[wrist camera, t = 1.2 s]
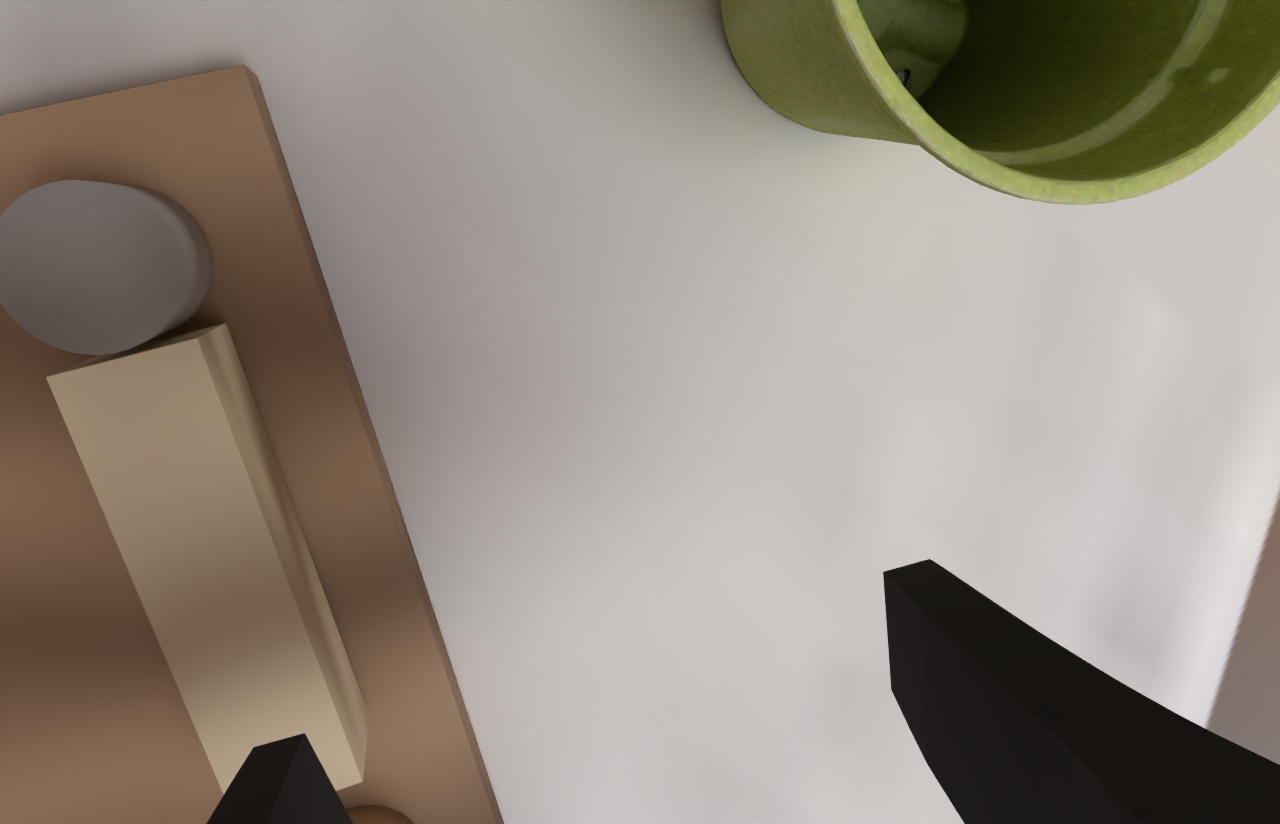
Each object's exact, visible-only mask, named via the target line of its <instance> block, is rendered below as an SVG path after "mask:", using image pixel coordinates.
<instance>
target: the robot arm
mask: <svg viewBox="0 0 1280 824" xmlns="http://www.w3.org/2000/svg"><path fill="white" fill-rule="evenodd" d="M883 575H884V590H885V604H886V618H887V633H888V647H889V661H890V676H891V690H892V692H893V694H894V696H895V698H896V700H897V702H898V705H899V707H900V709H901V711H902V713H903V715H904V717H905V719H906V721H907V724H908V726H909V728H910V730H911V732H912V734H913V736H914V738H915V740H916V742H917V744H918V746H919V748H920V750H921V752H922V754H923V756H924V758H925V760H926V762H927V764H928V766H929V767H930V769H931V771H932V772H933V774H934V775H935V777H936V779H937V780H938V782H939V784H940V785H941V787H942V788H943V790H944V792H945V793H946V795H947V796H948V798H949V799H950V801H951V803H952V804H953V806H954V807H955V809H956V811H957V812H958V814H959V815H960V817H961V818H962V820H963V822H964V823H965V824H1280V765H1279V764H1276V763H1274V762H1272V761H1270V760H1268V759H1266V758H1264V757H1262V756H1260V755H1258V754H1256V753H1254V752H1252V751H1249V750H1247V749H1245V748H1243V747H1241V746H1239V745H1237V744H1235V743H1233V742H1231V741H1229V740H1227V739H1225V738H1223V737H1221V736H1218V735H1216V734H1214V733H1212V732H1210V731H1208V730H1207V729H1205V728H1203V727H1201V726H1199V725H1197V724H1195V723H1193V722H1191V721H1189V720H1187V719H1185V718H1183V717H1182V716H1180V715H1178V714H1176V713H1174V712H1172V711H1171V710H1169V709H1167V708H1165V707H1163V706H1162V705H1160V704H1158V703H1156V702H1155V701H1153V700H1151V699H1149V698H1147V697H1146V696H1144V695H1142V694H1140V693H1139V692H1137V691H1135V690H1133V689H1131V688H1130V687H1128V686H1126V685H1125V684H1123V683H1121V682H1119V681H1118V680H1116V679H1114V678H1113V677H1111V676H1109V675H1108V674H1106V673H1104V672H1103V671H1101V670H1099V669H1098V668H1096V667H1094V666H1093V665H1091V664H1090V663H1088V662H1086V661H1085V660H1083V659H1081V658H1080V657H1078V656H1077V655H1075V654H1073V653H1072V652H1070V651H1069V650H1067V649H1065V648H1064V647H1062V646H1061V645H1059V644H1057V643H1056V642H1054V641H1053V640H1051V639H1049V638H1048V637H1046V636H1045V635H1043V634H1042V633H1040V632H1038V631H1037V630H1035V629H1034V628H1032V627H1031V626H1029V625H1028V624H1026V623H1025V622H1023V621H1022V620H1020V619H1019V618H1017V617H1016V616H1014V615H1013V614H1011V613H1010V612H1008V611H1007V610H1005V609H1004V608H1002V607H1001V606H999V605H998V604H996V603H995V602H993V601H992V600H990V599H989V598H987V597H986V596H984V595H983V594H981V593H980V592H978V591H977V590H975V589H974V588H972V587H971V586H970V585H968V584H967V583H965V582H964V581H962V580H961V579H959V578H958V577H956V576H955V575H953V574H952V573H950V572H949V571H947V570H946V569H944V568H943V567H941V566H940V565H938V564H937V563H935V562H934V561H932V560H930V559H928V560H925V561H921V562H917V563H914V564H910V565H907V566H903V567H899V568H896V569H892V570H889V571H885V572H883ZM206 824H353V822H352V821H351V819H350V817H349V815H348V813H347V811H346V809H345V807H344V806H343V804H342V802H341V800H340V798H339V796H338V794H337V792H336V791H335V789H334V787H333V785H332V783H331V781H330V779H329V777H328V776H327V774H326V772H325V770H324V768H323V766H322V764H321V762H320V761H319V759H318V757H317V755H316V753H315V751H314V749H313V747H312V746H311V744H310V742H309V740H308V738H307V736H306V734H305V733H303V734H299V735H296V736H292V737H288V738H285V739H281V740H278V741H274V742H270V743H267V744H263V745H260V746H256V747H253V749H252V750H251V752H250V754H249V755H248V757H247V758H246V760H245V761H244V763H243V765H242V766H241V768H240V769H239V771H238V772H237V774H236V776H235V777H234V779H233V780H232V782H231V784H230V785H229V787H228V789H227V790H226V792H225V794H224V795H223V797H222V798H221V800H220V802H219V803H218V805H217V807H216V808H215V810H214V812H213V813H212V815H211V817H210V818H209V820H208V821H207V823H206Z"/></svg>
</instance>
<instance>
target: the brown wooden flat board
mask: <svg viewBox="0 0 1280 824" xmlns="http://www.w3.org/2000/svg"><path fill="white" fill-rule="evenodd" d="M64 180H83V181H94V182H102V183H111V184H120V185H129V186H137V187H142V188H146V189H150V190H153V191H156V192H158V193H160V194H162V195H165V196H167V197H169V198H170V199H172V200H173V201H175V202H177V203H178V204H179V205H180V206H182V207H183V208H184V209H186V210H187V211H188V212H189V213H190V214H191V215H192V217H193V218H194V219H195V220H196V221H197V223H198V224H199V225H200V227H201V229H202V230H203V232H204V234H205V236H206V238H207V240H208V242H209V245H210V249H211V252H212V258H213V279H212V284H211V288H210V291H209V293H208V296H207V298H206V300H205V302H204V303H203V305H202V306H201V308H200V309H199V310H198V311H197V312H196V314H195V315H194V316H192V317H191V318H190V319H189V320H188V321H187V322H185V323H184V324H182V325H180V326H179V327H177V328H175V329H173V330H171V331H168V332H166V333H164V334H162V335H160V336H157V337H155V338H153V339H151V340H148V341H146V342H144V343H142V344H145V343H149V342H153V341H156V340H160V339H164V338H168V337H172V336H176V335H180V334H184V333H188V332H192V331H195V330H199V329H203V328H207V327H211V326H215V325H219V324H223V323H226V324H227V327H228V329H229V332H230V335H231V338H232V340H233V343H234V346H235V349H236V351H237V354H238V357H239V360H240V362H241V365H242V368H243V371H244V373H245V376H246V379H247V382H248V384H249V387H250V390H251V393H252V395H253V398H254V401H255V404H256V406H257V409H258V412H259V415H260V417H261V420H262V423H263V426H264V428H265V431H266V434H267V437H268V439H269V442H270V445H271V447H272V450H273V453H274V456H275V458H276V461H277V464H278V467H279V469H280V472H281V475H282V478H283V480H284V483H285V486H286V489H287V491H288V494H289V497H290V500H291V502H292V505H293V508H294V511H295V513H296V516H297V519H298V522H299V524H300V527H301V530H302V533H303V535H304V538H305V541H306V544H307V546H308V549H309V552H310V555H311V557H312V560H313V563H314V566H315V568H316V571H317V574H318V577H319V579H320V582H321V585H322V588H323V590H324V593H325V596H326V599H327V601H328V604H329V607H330V609H331V612H332V615H333V618H334V620H335V623H336V626H337V629H338V631H339V634H340V637H341V640H342V642H343V645H344V648H345V651H346V653H347V656H348V659H349V662H350V664H351V667H352V670H353V673H354V675H355V678H356V681H357V684H358V686H359V689H360V692H361V695H362V697H363V700H364V703H365V706H366V708H367V711H368V714H369V726H368V736H367V745H366V755H365V765H364V775H363V782H360V783H358V784H355V785H352V786H349V787H346V788H343V789H341V790H338V791H336V792H337V794H338V796H339V798H340V800H341V802H342V804H343V806H344V807H345V809H346V811H347V813H348V815H349V817H350V819H351V821H352V822H353V824H504V822H503V819H502V816H501V813H500V810H499V807H498V804H497V801H496V798H495V795H494V792H493V789H492V786H491V783H490V780H489V777H488V774H487V771H486V768H485V765H484V762H483V759H482V756H481V753H480V750H479V747H478V744H477V741H476V738H475V734H474V731H473V728H472V725H471V722H470V719H469V716H468V713H467V710H466V707H465V704H464V701H463V698H462V695H461V692H460V689H459V686H458V683H457V680H456V677H455V674H454V671H453V668H452V665H451V662H450V659H449V656H448V653H447V650H446V647H445V644H444V641H443V638H442V635H441V632H440V629H439V625H438V622H437V619H436V616H435V613H434V610H433V607H432V604H431V601H430V598H429V595H428V592H427V589H426V586H425V583H424V580H423V577H422V574H421V571H420V568H419V565H418V562H417V559H416V556H415V553H414V550H413V547H412V544H411V541H410V538H409V535H408V532H407V529H406V526H405V523H404V520H403V516H402V513H401V510H400V507H399V504H398V501H397V498H396V495H395V492H394V489H393V486H392V483H391V480H390V477H389V474H388V471H387V468H386V465H385V462H384V459H383V456H382V453H381V450H380V447H379V444H378V441H377V438H376V435H375V432H374V429H373V426H372V423H371V420H370V417H369V414H368V411H367V408H366V404H365V401H364V398H363V395H362V392H361V389H360V386H359V383H358V380H357V377H356V374H355V371H354V368H353V365H352V362H351V359H350V356H349V353H348V350H347V347H346V344H345V341H344V338H343V335H342V332H341V329H340V326H339V323H338V320H337V317H336V314H335V311H334V308H333V305H332V302H331V299H330V295H329V292H328V289H327V286H326V283H325V280H324V277H323V274H322V271H321V268H320V265H319V262H318V259H317V256H316V253H315V250H314V247H313V244H312V241H311V238H310V235H309V232H308V229H307V226H306V223H305V220H304V217H303V214H302V211H301V208H300V205H299V202H298V199H297V196H296V193H295V190H294V186H293V183H292V180H291V177H290V174H289V171H288V168H287V165H286V162H285V159H284V156H283V153H282V150H281V147H280V144H279V141H278V138H277V135H276V132H275V129H274V126H273V123H272V120H271V117H270V114H269V111H268V108H267V105H266V102H265V99H264V96H263V93H262V90H261V87H260V84H259V81H258V77H257V76H256V75H255V74H254V73H252V72H251V71H250V70H249V69H248V68H247V67H246V66H244V65H239V66H234V67H230V68H225V69H220V70H215V71H210V72H206V73H201V74H196V75H191V76H186V77H182V78H177V79H172V80H167V81H162V82H158V83H153V84H148V85H143V86H138V87H134V88H129V89H124V90H119V91H115V92H110V93H105V94H100V95H95V96H91V97H86V98H81V99H76V100H71V101H67V102H62V103H57V104H52V105H47V106H43V107H38V108H33V109H28V110H24V111H19V112H14V113H9V114H4V115H0V217H1V215H2V213H3V212H4V211H5V210H6V209H7V208H8V207H9V205H10V204H12V203H13V202H14V201H15V200H16V199H17V198H19V197H20V196H22V195H23V194H25V193H26V192H28V191H30V190H32V189H34V188H37V187H39V186H42V185H45V184H48V183H52V182H58V181H64ZM139 345H141V344H139ZM95 356H98V355H87V354H78V353H72V352H68V351H65V350H61V349H58V348H55V347H53V346H50V345H48V344H46V343H44V342H42V341H40V340H39V339H37V338H35V337H34V336H32V335H31V334H29V333H28V332H26V331H25V330H24V329H23V328H22V327H21V326H19V325H18V324H17V323H16V322H15V321H14V320H13V319H12V317H11V316H10V315H9V314H8V313H7V312H6V310H5V309H4V307H3V306H2V304H1V303H0V824H206V823H207V821H208V820H209V818H210V817H211V815H212V813H213V812H214V810H215V808H216V807H217V805H218V803H219V802H220V800H221V798H222V797H223V792H222V790H221V788H220V785H219V783H218V781H217V778H216V776H215V773H214V771H213V769H212V766H211V764H210V762H209V759H208V757H207V755H206V752H205V750H204V748H203V745H202V743H201V741H200V738H199V736H198V734H197V731H196V729H195V726H194V724H193V722H192V719H191V717H190V715H189V712H188V710H187V708H186V705H185V703H184V701H183V698H182V696H181V694H180V691H179V689H178V687H177V684H176V682H175V679H174V677H173V675H172V672H171V670H170V668H169V665H168V663H167V661H166V658H165V656H164V654H163V651H162V649H161V647H160V644H159V642H158V640H157V637H156V635H155V632H154V630H153V628H152V625H151V623H150V621H149V618H148V616H147V614H146V611H145V609H144V607H143V604H142V602H141V600H140V597H139V595H138V593H137V590H136V588H135V585H134V583H133V581H132V578H131V576H130V574H129V571H128V569H127V567H126V564H125V562H124V560H123V557H122V555H121V553H120V550H119V548H118V546H117V543H116V541H115V538H114V536H113V534H112V531H111V529H110V527H109V524H108V522H107V520H106V517H105V515H104V513H103V510H102V508H101V506H100V503H99V501H98V499H97V496H96V494H95V491H94V489H93V487H92V484H91V482H90V480H89V477H88V475H87V473H86V470H85V468H84V466H83V463H82V461H81V459H80V456H79V454H78V452H77V449H76V447H75V444H74V442H73V440H72V437H71V435H70V433H69V430H68V428H67V426H66V423H65V421H64V419H63V416H62V414H61V412H60V409H59V407H58V405H57V402H56V400H55V397H54V395H53V393H52V390H51V388H50V386H49V383H48V381H47V379H46V377H48V376H50V375H52V374H55V373H57V372H60V371H62V370H64V369H67V368H69V367H71V366H74V365H76V364H78V363H81V362H83V361H86V360H88V359H90V358H93V357H95Z"/></svg>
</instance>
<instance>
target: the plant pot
mask: <svg viewBox="0 0 1280 824" xmlns="http://www.w3.org/2000/svg"><path fill="white" fill-rule="evenodd" d="M720 7H721V14H722V19H723V24H724V29H725V33H726V37H727V41H728V44H729V47H730V49H731V52H732V55H733V57H734V59H735V61H736V63H737V64H738V66H739V68H740V70H741V72H742V74H743V75H744V77H745V78H746V80H747V81H748V82H749V84H750V85H751V86H752V88H753V89H754V90H755V92H756V93H757V94H758V95H759V96H760V97H761V98H762V99H763V101H765V102H766V103H767V104H768V105H769V106H770V107H771V108H773V109H774V110H775V111H776V112H778V113H780V114H781V115H783V116H784V117H786V118H788V119H790V120H792V121H794V122H796V123H798V124H800V125H803V126H805V127H808V128H810V129H813V130H817V131H820V132H825V133H831V134H837V135H844V136H852V137H860V138H869V139H878V140H885V141H892V142H899V143H906V144H913V145H919V146H921V147H922V148H923V149H924V150H926V151H927V152H928V153H930V154H931V155H932V156H934V157H935V158H936V159H938V160H939V161H940V162H942V163H943V164H945V165H946V166H947V167H949V168H951V169H952V170H954V171H956V172H957V173H959V174H961V175H963V176H964V177H966V178H968V179H970V180H972V181H974V182H976V183H978V184H980V185H982V186H985V187H988V188H990V189H993V190H996V191H998V192H1002V193H1005V194H1008V195H1012V196H1015V197H1018V198H1023V199H1029V200H1035V201H1040V202H1046V203H1055V204H1073V205H1089V204H1095V203H1108V202H1114V201H1119V200H1123V199H1129V198H1133V197H1137V196H1141V195H1144V194H1147V193H1149V192H1152V191H1155V190H1158V189H1161V188H1163V187H1165V186H1168V185H1170V184H1172V183H1175V182H1177V181H1179V180H1181V179H1183V178H1185V177H1187V176H1188V175H1190V174H1192V173H1193V172H1195V171H1197V170H1198V169H1200V168H1202V167H1204V166H1206V165H1207V164H1208V163H1210V162H1211V161H1213V160H1214V159H1216V158H1217V157H1219V156H1220V155H1222V154H1223V153H1224V152H1226V151H1227V150H1228V149H1230V148H1231V147H1232V146H1233V145H1235V144H1236V143H1238V142H1239V141H1240V140H1241V139H1243V138H1244V137H1245V136H1246V135H1247V134H1249V133H1250V132H1251V131H1252V130H1253V129H1254V128H1255V127H1256V126H1257V125H1258V124H1259V123H1260V122H1261V121H1262V120H1263V119H1264V118H1265V117H1266V116H1267V115H1268V114H1269V113H1270V112H1271V111H1272V110H1273V109H1274V108H1275V107H1276V106H1277V105H1278V104H1279V102H1280V0H858V1H856V0H720ZM902 69H908V70H909V72H910V75H909V79H908V81H907V83H906V85H905V86H903V84H902V83H901V82H900V80H899V79H898V77H897V76H896V73H897V72H899V71H900V70H902Z"/></svg>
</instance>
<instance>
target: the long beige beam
mask: <svg viewBox="0 0 1280 824" xmlns="http://www.w3.org/2000/svg"><path fill="white" fill-rule="evenodd" d="M212 279H213V258H212V252H211V249H210V245H209V242H208V240H207V238H206V236H205V234H204V232H203V230H202V229H201V227H200V225H199V224H198V223H197V221H196V220H195V219H194V218H193V217H192V215H191V214H190V213H189V212H188V211H187V210H186V209H184V208H183V207H182V206H180V205H179V204H178V203H177V202H175V201H173V200H172V199H170V198H169V197H167V196H165V195H162V194H160V193H158V192H156V191H153V190H150V189H146V188H142V187H137V186H129V185H120V184H111V183H102V182H94V181H83V180H64V181H58V182H52V183H48V184H45V185H42V186H39V187H37V188H34V189H32V190H30V191H28V192H26V193H25V194H23V195H22V196H20V197H19V198H17V199H16V200H15V201H14V202H13V203H12V204H10V205H9V207H8V208H7V209H6V210H5V211H4V212H3V213H2V215H1V217H0V303H1V304H2V306H3V307H4V309H5V310H6V312H7V313H8V314H9V315H10V316H11V317H12V319H13V320H14V321H15V322H16V323H17V324H18V325H19V326H21V327H22V328H23V329H24V330H25V331H26V332H28V333H29V334H31V335H32V336H34V337H35V338H37V339H39V340H40V341H42V342H44V343H46V344H48V345H50V346H53V347H55V348H58V349H61V350H65V351H68V352H72V353H78V354H87V355H98V356H95V357H93V358H90V359H88V360H86V361H83V362H81V363H78V364H76V365H74V366H71V367H69V368H67V369H64V370H62V371H60V372H57V373H55V374H52V375H50V376H48V377H46V379H47V381H48V383H49V386H50V388H51V390H52V393H53V395H54V397H55V400H56V402H57V405H58V407H59V409H60V412H61V414H62V416H63V419H64V421H65V423H66V426H67V428H68V430H69V433H70V435H71V437H72V440H73V442H74V444H75V447H76V449H77V452H78V454H79V456H80V459H81V461H82V463H83V466H84V468H85V470H86V473H87V475H88V477H89V480H90V482H91V484H92V487H93V489H94V491H95V494H96V496H97V499H98V501H99V503H100V506H101V508H102V510H103V513H104V515H105V517H106V520H107V522H108V524H109V527H110V529H111V531H112V534H113V536H114V538H115V541H116V543H117V546H118V548H119V550H120V553H121V555H122V557H123V560H124V562H125V564H126V567H127V569H128V571H129V574H130V576H131V578H132V581H133V583H134V585H135V588H136V590H137V593H138V595H139V597H140V600H141V602H142V604H143V607H144V609H145V611H146V614H147V616H148V618H149V621H150V623H151V625H152V628H153V630H154V632H155V635H156V637H157V640H158V642H159V644H160V647H161V649H162V651H163V654H164V656H165V658H166V661H167V663H168V665H169V668H170V670H171V672H172V675H173V677H174V679H175V682H176V684H177V687H178V689H179V691H180V694H181V696H182V698H183V701H184V703H185V705H186V708H187V710H188V712H189V715H190V717H191V719H192V722H193V724H194V726H195V729H196V731H197V734H198V736H199V738H200V741H201V743H202V745H203V748H204V750H205V752H206V755H207V757H208V759H209V762H210V764H211V766H212V769H213V771H214V773H215V776H216V778H217V781H218V783H219V785H220V788H221V790H222V792H223V795H224V794H225V792H226V790H227V789H228V787H229V785H230V784H231V782H232V780H233V779H234V777H235V776H236V774H237V772H238V771H239V769H240V768H241V766H242V765H243V763H244V761H245V760H246V758H247V757H248V755H249V754H250V752H251V750H252V749H253V747H256V746H260V745H263V744H267V743H270V742H274V741H278V740H281V739H285V738H288V737H292V736H296V735H299V734H303V733H305V734H306V736H307V738H308V740H309V742H310V744H311V746H312V747H313V749H314V751H315V753H316V755H317V757H318V759H319V761H320V762H321V764H322V766H323V768H324V770H325V772H326V774H327V776H328V777H329V779H330V781H331V783H332V785H333V787H334V789H335V791H338V790H341V789H343V788H346V787H349V786H352V785H355V784H358V783H360V782H363V775H364V765H365V755H366V745H367V736H368V726H369V714H368V711H367V708H366V706H365V703H364V700H363V697H362V695H361V692H360V689H359V686H358V684H357V681H356V678H355V675H354V673H353V670H352V667H351V664H350V662H349V659H348V656H347V653H346V651H345V648H344V645H343V642H342V640H341V637H340V634H339V631H338V629H337V626H336V623H335V620H334V618H333V615H332V612H331V609H330V607H329V604H328V601H327V599H326V596H325V593H324V590H323V588H322V585H321V582H320V579H319V577H318V574H317V571H316V568H315V566H314V563H313V560H312V557H311V555H310V552H309V549H308V546H307V544H306V541H305V538H304V535H303V533H302V530H301V527H300V524H299V522H298V519H297V516H296V513H295V511H294V508H293V505H292V502H291V500H290V497H289V494H288V491H287V489H286V486H285V483H284V480H283V478H282V475H281V472H280V469H279V467H278V464H277V461H276V458H275V456H274V453H273V450H272V447H271V445H270V442H269V439H268V437H267V434H266V431H265V428H264V426H263V423H262V420H261V417H260V415H259V412H258V409H257V406H256V404H255V401H254V398H253V395H252V393H251V390H250V387H249V384H248V382H247V379H246V376H245V373H244V371H243V368H242V365H241V362H240V360H239V357H238V354H237V351H236V349H235V346H234V343H233V340H232V338H231V335H230V332H229V329H228V327H227V324H226V323H223V324H219V325H215V326H211V327H207V328H203V329H199V330H195V331H192V332H188V333H184V334H180V335H176V336H172V337H168V338H164V339H160V340H156V341H153V342H149V343H145V344H142V343H144V342H146V341H148V340H151V339H153V338H155V337H157V336H160V335H162V334H164V333H166V332H168V331H171V330H173V329H175V328H177V327H179V326H180V325H182V324H184V323H185V322H187V321H188V320H189V319H190V318H191V317H192V316H194V315H195V314H196V312H197V311H198V310H199V309H200V308H201V306H202V305H203V303H204V302H205V300H206V298H207V296H208V293H209V291H210V288H211V284H212ZM139 344H141V345H139Z"/></svg>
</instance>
